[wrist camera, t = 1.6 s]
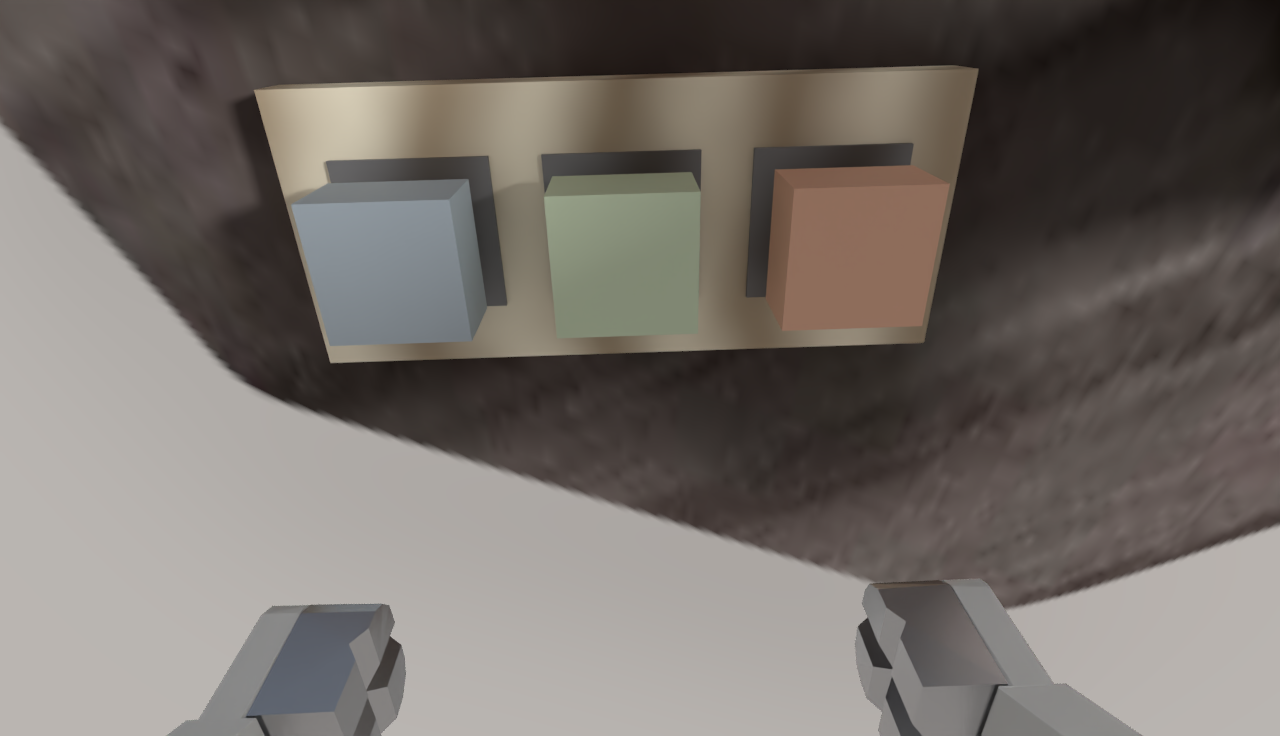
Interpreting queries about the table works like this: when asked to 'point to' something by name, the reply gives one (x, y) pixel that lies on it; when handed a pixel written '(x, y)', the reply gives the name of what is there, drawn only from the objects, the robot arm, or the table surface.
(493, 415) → the table surface
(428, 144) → the button board
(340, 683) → the robot arm
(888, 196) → the terracotta button
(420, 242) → the slate button
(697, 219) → the sage button
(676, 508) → the table surface
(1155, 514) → the table surface
